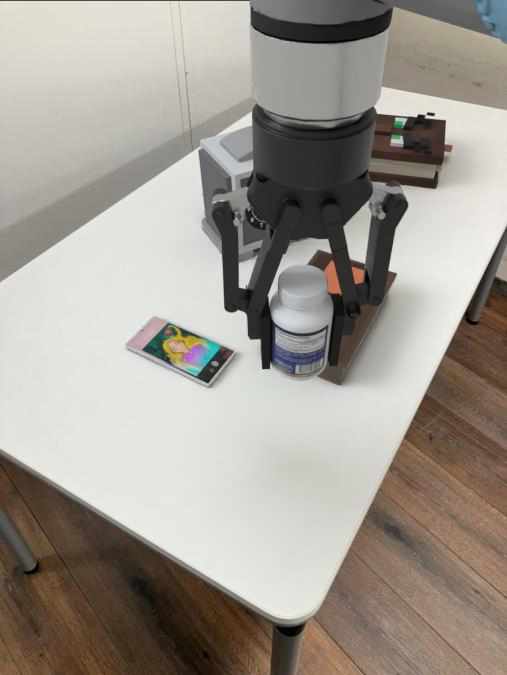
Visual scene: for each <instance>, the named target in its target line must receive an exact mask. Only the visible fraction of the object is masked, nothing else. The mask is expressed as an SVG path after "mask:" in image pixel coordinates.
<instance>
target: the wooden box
mask: <svg viewBox="0 0 507 675" xmlns="http://www.w3.org/2000/svg"><path fill="white" fill-rule="evenodd" d="M350 262H351V266H352V271H353V276H354V280H355V284H358V283H361V282H363V276H364V268H365V262H362V261H358V260H354V259H352V258H350ZM306 265H311V266H314V267H317V268H319V269H320V270H322V271H323V272H324V273H325V274H326V276H327V278H328V294H329V295H330V297H331V293H340V295H341V290H340V286H339V282H338V278H337V274H336V269H335V265H334V261H333V257H332V253H331V252H327V251H324V250H321V249H317V250H316V251H315V253H314V254H313V256H312V257H311V259H310V260H309V261H308V263H307V264H306ZM397 276H398V273H397V272H394V271H391V270H388V276H387V282H386V287H385V293H384V299H383V302H382V303H381V304H380V305H378V306H371V305H370V304H366V305H363V306H361V307H360V308H361V312H362V314H361V316H360V317H359V318H357V319H356V322H355V328H354V331H353V333H352V334H351V335H342V339H341V346H340V352H339V359H338V366H329V363H328V360H327V364H326V367H325V368H324V370H323V371H322V372H321V373H320V374H319V375H318V376H316V377H317V378H319V379H323V380H325V381H326V382H327V381H328V382H329V383H332V384H335V385H337V386H341V384H342V383H343V381H344V379H345V377H346V375H347V374H348V371H349V370H350V368H351V366H352V364H353V362H354V361H355V358H356V357H357V355H358V353H359V351H360V349H361V347H362V345H363V344H364V342H365V340H366V338H367V337H368V334H369V333H370V330H371V329H372V327H373V325H374V323H375V321H376V320H377V318H378V316H379V314H380V312H381V310H382V308H383V306H384V305H385V303H386V301H387V299H388V296H389V292H390V290H391V288H392V286H393V284H394V283H395V281H396V280H397Z"/></svg>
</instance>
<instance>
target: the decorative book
mask: <svg viewBox="0 0 507 675" xmlns="http://www.w3.org/2000/svg"><path fill="white" fill-rule="evenodd" d="M435 115H436V112H431V111H430V112H429V111H428V112H427V111H426V114H421V113H418V114H417V116H412V115H408V116H406V115H395V114H385V113H377V119H376V125H375V132H374V138H373V145H372V151H371V158H370V164H369V170H368V173H369V176H370V180H371V181H372V182H375V183H382V184H386V183H388V182H389V181H397V182H399V184H400V186H408V187H415V188H416V187H418V188H423V189H424V188H425V189H433V190H436V189H437V186H438V182H439V172H442V166H443V164H444V160H445V152H446V153H452V150H453V144H446V129H447V120H446V119H439V118H429V117H428V118H427V116H430V117H435Z"/></svg>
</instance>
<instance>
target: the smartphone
mask: <svg viewBox="0 0 507 675" xmlns="http://www.w3.org/2000/svg"><path fill="white" fill-rule="evenodd" d="M124 346H125V348H126V349H127V350H129V351H131V352H133V353H135V354H138V355H139V356H141V357H144V358H146V359H148V360H150V361H152V362H154V363H156V364H159V365H161V366H162V367H164V368H166V369H169V370H171V371H173V372H175V373H177V374H179V375H181V376H183V377H185V378H188V379H190V380H191V381H194V382H196V383H198V384H200V385H202V386H204V387H207V388H211V387H212V385H213V384H214V382H215V381H216V380H217V379H218V378H219V376H220V375H221V373H222V372H224V371H225V369H226V368H227V366H228V365H229V364H230V363H231V361H232V360H233V359H234V358H235V357H236V354H237V352H236V350H234V349H232V348H229V346H225V345H223V344H221V343H218V342H216V341H215V340H212V339H209V338H207V337H205V336H202V335H200V334H198V333H196V332H193V331H191V330H189V329H186V328H184V327H182V326H180V325H177V324H175V323H172V322H170V321H168V320H166V319H164V318H162V317H159V316H156V315H153V316H152V317H151V318H149V320H147V322H146V323H145V324H144V325H143V326H142V327H141V328H140V329H139V330H137V332H136V333H134V334H133V335H132V336H131V337H130V338H129V339H128V341H127V342H126V343H125V344H124Z"/></svg>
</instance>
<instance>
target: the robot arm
mask: <svg viewBox="0 0 507 675" xmlns="http://www.w3.org/2000/svg"><path fill="white" fill-rule="evenodd" d="M248 3H249V7H250V15H249V16H250V22H249V52H250V53H249V54H250V94H251V98H252V99H253V101H254V102H255V104H254V106H253V107H252V110H251V126H252V137H253V171H252V173H251V176H250V177H249V179H248V181H247V185H246V187H244V188H241V189H238V190H235V191H232V192H229V193H228V192H227V190H225V189H223V188H217V189H216V190H214V191H213V193H212V214H211V215H212V218H213V220H214V222H215V224H216V226H217V229H218V231H219V233H220V235H221V240H222V254H221V262H222V263H221V264H222V287H223V288H222V289H223V291H222V292H223V309H224V311H225V312H227V313H230V314H234V313H236V312H238V311H240V312H243V313H244V314H245V315H246V323H247V324H246V326H247V337H248V339H249V340H250V341H255V340H260V341H259V342H260V360H261V370H271V362H270V297H269V295H270V291H271V288H272V287H273V284H274V281H275V278H276V275H277V272H278V270H279V267H280V264H281V262H282V259H283V256H284V255H286V254H287V251H288V249H289V247H290V243H291V242H292V241H298V240H300V239H304V238H308V239H316V240H328V245H329V249H330V253H331V254H332V257H333V261H334V265H335V269H336V274H337V278H338V282H339V286H340V290H341V295H340V293H331V299H332V301H333V305H334V312H333V321H332V329H331V337H330V345H329V353H328V363H329V366H338V359H339V352H340V346H341V339H342V335H351V334H352V333H353V331H354V328H355V322H356V319H357V318H359V317H360V316H361V314H362V312H361V308H360V307H361V306H363V305H366V304H370V305H371V306H378V305H380V304H381V303H382V302H383V299H384V293H385V287H386V282H387V276H388V271H390V264H391V259H392V258H391V257H392V254H393V253H392V252H393V248H394V241H395V235H396V229H397V228H398V226H399V224H400V222H401V221H402V219H403V218H404V216H405V214H406V213H407V211H408V209H409V201H408V199H407V197H406V195H405V193H404V190H403V188H402V185H400V184H399V182H397V181H389V182H388V183H380V182H374V181H371V180H370V176H369V173H368V170H369V164H370V158H371V151H372V145H373V138H374V132H375V125H376V119H377V114H378V112H377V109H376V107H375V106H376V105H377V104H378V102H379V100H380V99H381V94H382V86H383V82H384V81H383V80H384V73H385V67H386V60H387V51H388V44H389V38H390V30H391V24H392V19H393V13H394V8H396V9H399V10H402V11H407V12H409V13H413V14H417V15H420V16H422V17H426V18H429V19H432V20H436V21H439V22H443V23H446V24H450V25H452V26H456V27H459V28H462V29H465V30H469V31H473V32H475V33H478V34H482V35H486V36H488V37H492V38H495V39H498V40H500V42H502V43H503V44H506V45H507V0H249V2H248ZM367 203H368V208H369V211H370V213H371V214H370V221H369V229H368V230H369V231H368V239H367V245H366V253H365V260H364V263H365V268H364V276H363V282H361V283H358V284H355V280H354V276H353V271H352V266H351V262H350V259H351V257H350V253H349V248H348V241H347V236H346V233H345V228H344V227H345V226H346V225H347V223H349V222H350V220H352V219H353V217H354V216H355V215H356V214H357V213H358V212H359V211H360V210H361V209H362V208H363V207H364V206H365V205H366V204H367ZM249 206H252V207H253V208H254V209H255V211H256V212H257V213H258V214H259V215H260V216H261V217H262V218H263V220H264V221H265V222H266V223H267V225H266V232H265V235H264V238H263V241H262V244H261V247H260V248H259V251H258V254H257V257H256V260H255V263H254V265H253V269H252V272H251V275H250V278H249V281H248V284H246V285H245V288H243V287H240V262H239V241H238V226H239V225H240V224H241V223H242V222H243V221H244V219H245V210H246V209H247V208H248V207H249Z"/></svg>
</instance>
